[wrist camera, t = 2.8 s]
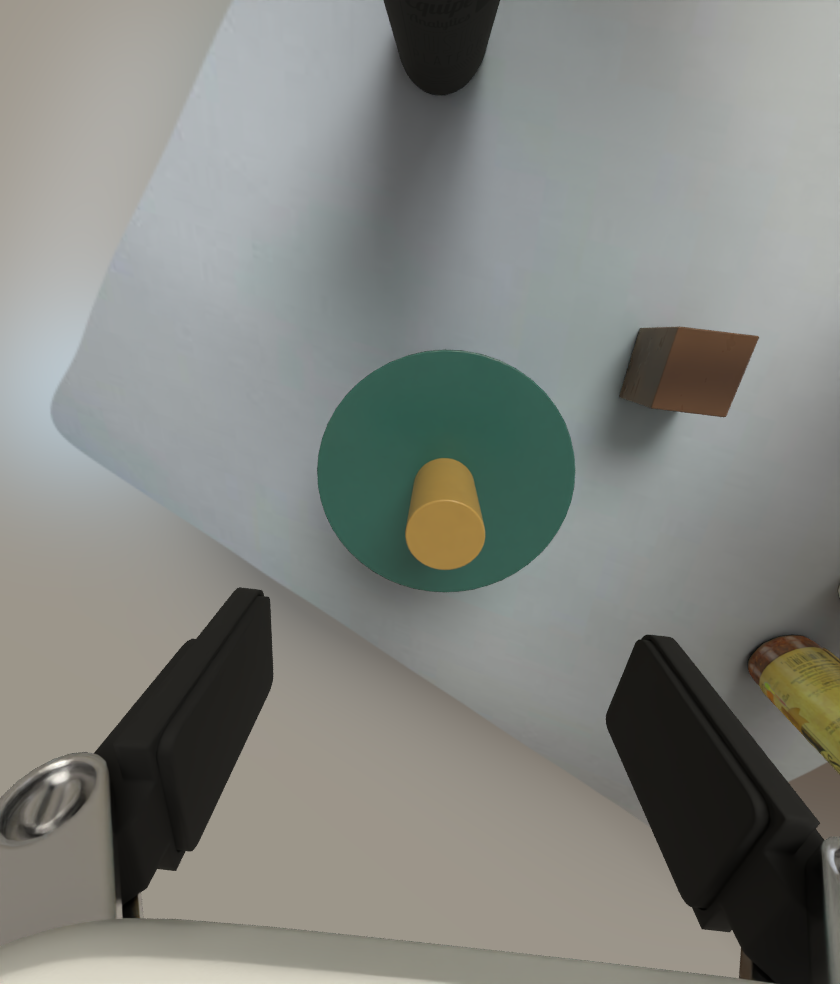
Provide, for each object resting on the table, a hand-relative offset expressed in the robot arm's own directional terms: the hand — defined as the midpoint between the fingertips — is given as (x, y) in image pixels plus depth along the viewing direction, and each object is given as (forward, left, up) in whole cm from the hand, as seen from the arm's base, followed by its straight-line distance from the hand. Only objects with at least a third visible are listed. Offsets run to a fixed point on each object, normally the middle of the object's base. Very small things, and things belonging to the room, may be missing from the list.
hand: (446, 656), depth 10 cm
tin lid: (0, 0, -12) cm, 12 cm away
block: (-7, +14, -21) cm, 26 cm away
